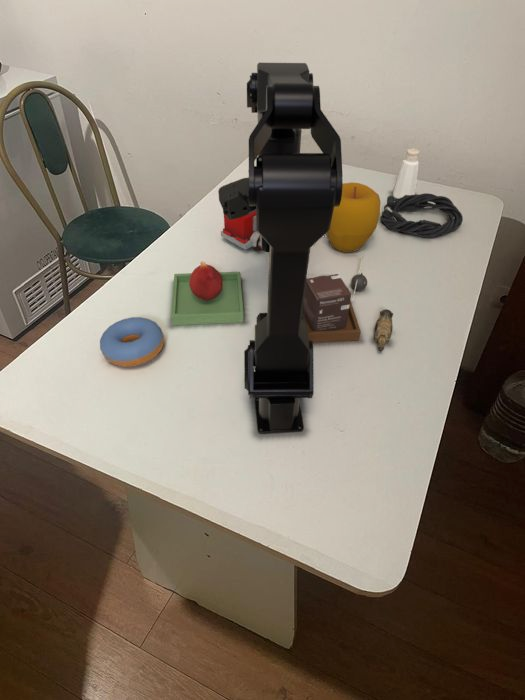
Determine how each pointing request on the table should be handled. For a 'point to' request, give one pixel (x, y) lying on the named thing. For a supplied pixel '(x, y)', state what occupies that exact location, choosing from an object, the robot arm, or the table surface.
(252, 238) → the toy fire truck
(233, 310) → the produce tray
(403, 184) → the pepper shaker
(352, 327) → the walnut tray
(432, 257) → the table surface
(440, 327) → the table surface
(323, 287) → the box
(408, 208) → the cable
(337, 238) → the apple
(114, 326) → the doughnut
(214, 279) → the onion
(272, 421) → the robot arm
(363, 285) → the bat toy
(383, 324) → the cat figurine
